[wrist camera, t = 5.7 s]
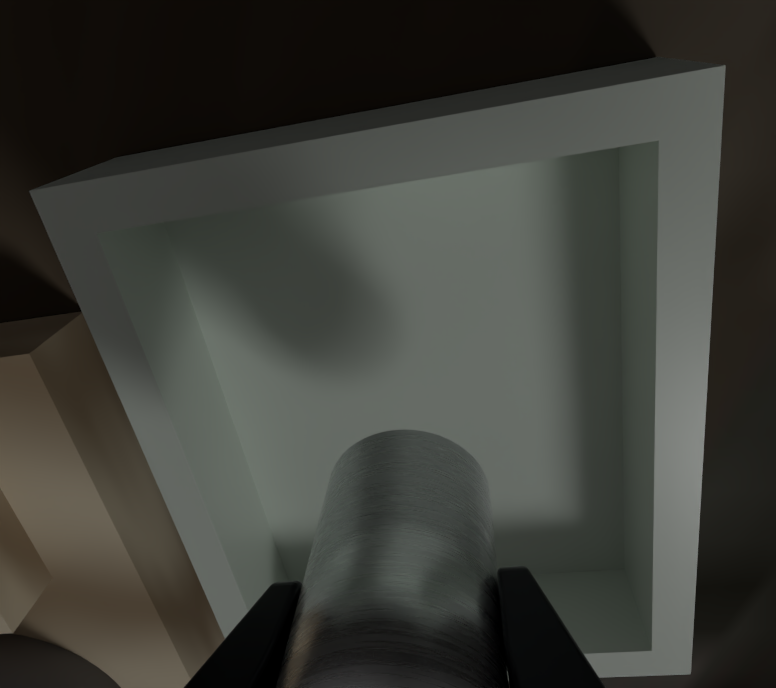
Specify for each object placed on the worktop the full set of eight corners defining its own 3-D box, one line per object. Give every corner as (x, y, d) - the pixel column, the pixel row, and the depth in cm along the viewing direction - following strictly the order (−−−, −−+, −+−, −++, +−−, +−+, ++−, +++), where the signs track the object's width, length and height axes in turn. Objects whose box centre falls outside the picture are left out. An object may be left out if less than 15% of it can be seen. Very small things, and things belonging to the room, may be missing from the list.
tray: (651, 571, 16) (690, 674, 13) (276, 594, 17) (246, 690, 15) (657, 57, 10) (725, 65, 8) (116, 157, 12) (29, 191, 9)
